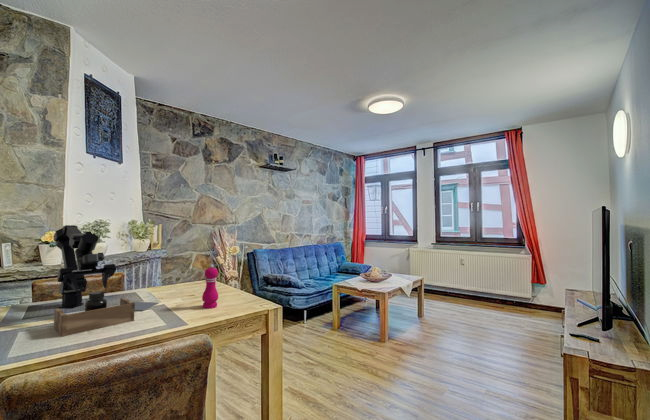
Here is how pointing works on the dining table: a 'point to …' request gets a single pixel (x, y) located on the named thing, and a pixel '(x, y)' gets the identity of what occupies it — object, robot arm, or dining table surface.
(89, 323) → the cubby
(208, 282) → the pepper mill
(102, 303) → the supplement bottle
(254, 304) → the dining table surface
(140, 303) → the felt mat
